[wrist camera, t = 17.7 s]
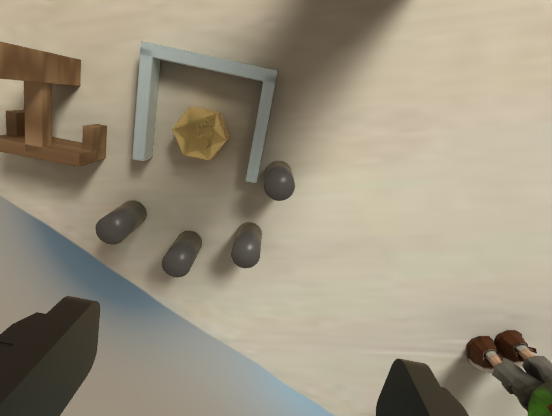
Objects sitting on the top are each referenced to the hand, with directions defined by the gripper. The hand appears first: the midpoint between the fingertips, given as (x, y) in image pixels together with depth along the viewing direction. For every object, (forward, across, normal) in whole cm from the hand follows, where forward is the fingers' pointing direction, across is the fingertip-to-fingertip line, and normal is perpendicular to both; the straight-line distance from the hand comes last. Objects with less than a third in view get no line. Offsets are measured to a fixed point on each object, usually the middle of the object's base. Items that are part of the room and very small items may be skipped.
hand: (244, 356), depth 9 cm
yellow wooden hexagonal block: (+31, +8, -2) cm, 32 cm away
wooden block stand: (+31, +23, -1) cm, 38 cm away
